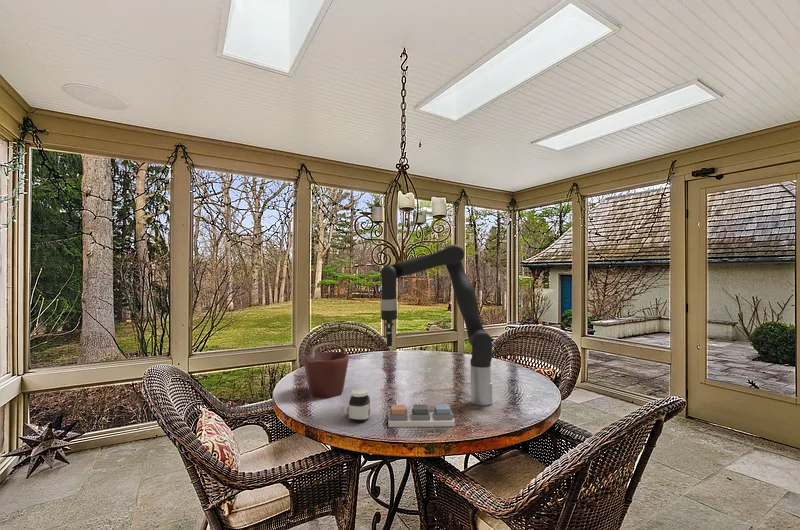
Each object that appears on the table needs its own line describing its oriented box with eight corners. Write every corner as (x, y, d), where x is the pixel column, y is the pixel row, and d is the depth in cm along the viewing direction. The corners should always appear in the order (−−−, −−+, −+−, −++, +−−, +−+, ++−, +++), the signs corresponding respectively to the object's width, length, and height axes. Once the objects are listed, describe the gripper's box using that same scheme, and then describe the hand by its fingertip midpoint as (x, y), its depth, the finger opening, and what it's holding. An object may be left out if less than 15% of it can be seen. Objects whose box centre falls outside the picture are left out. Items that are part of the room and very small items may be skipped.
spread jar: (364, 424, 153) (363, 395, 153) (338, 422, 156) (337, 393, 156) (374, 414, 165) (374, 386, 165) (349, 411, 168) (349, 384, 168)
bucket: (313, 403, 178) (313, 349, 178) (293, 392, 195) (293, 343, 195) (358, 393, 193) (357, 343, 194) (335, 383, 210) (335, 337, 211)
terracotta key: (405, 410, 159) (405, 404, 159) (405, 415, 153) (405, 409, 153) (391, 410, 158) (391, 404, 159) (391, 415, 153) (391, 409, 153)
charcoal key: (426, 410, 159) (426, 404, 159) (428, 415, 153) (428, 409, 153) (413, 410, 159) (413, 404, 159) (414, 415, 153) (414, 409, 153)
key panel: (450, 416, 161) (450, 407, 161) (454, 426, 151) (454, 416, 151) (388, 417, 161) (388, 407, 161) (388, 427, 151) (388, 416, 151)
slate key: (448, 410, 159) (448, 404, 159) (450, 415, 153) (450, 409, 153) (435, 410, 159) (435, 404, 159) (436, 415, 153) (436, 409, 153)
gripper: (397, 310, 169) (397, 347, 169) (397, 307, 183) (397, 341, 183) (380, 310, 169) (380, 347, 169) (381, 307, 183) (382, 341, 183)
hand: (389, 344), depth 176 cm, fingers open, 8 cm apart
